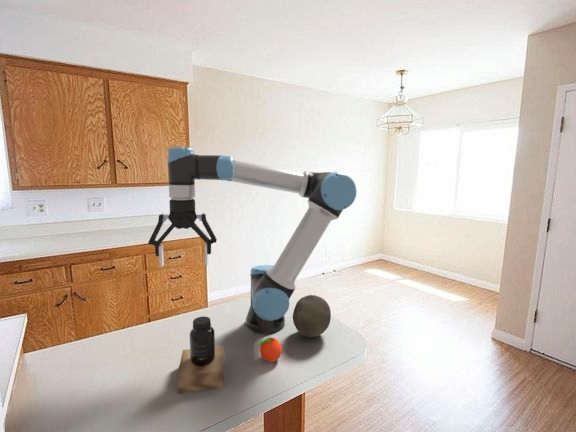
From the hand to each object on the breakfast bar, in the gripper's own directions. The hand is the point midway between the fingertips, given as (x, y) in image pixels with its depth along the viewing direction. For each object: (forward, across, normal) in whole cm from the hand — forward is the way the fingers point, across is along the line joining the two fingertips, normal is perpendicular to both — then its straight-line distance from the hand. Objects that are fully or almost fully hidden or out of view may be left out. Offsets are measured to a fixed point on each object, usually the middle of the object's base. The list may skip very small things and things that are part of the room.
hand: (184, 265), depth 96 cm
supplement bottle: (+24, -6, +15) cm, 29 cm away
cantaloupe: (+29, -43, 0) cm, 52 cm away
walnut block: (+29, -6, +15) cm, 33 cm away
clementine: (+29, -26, +11) cm, 40 cm away
